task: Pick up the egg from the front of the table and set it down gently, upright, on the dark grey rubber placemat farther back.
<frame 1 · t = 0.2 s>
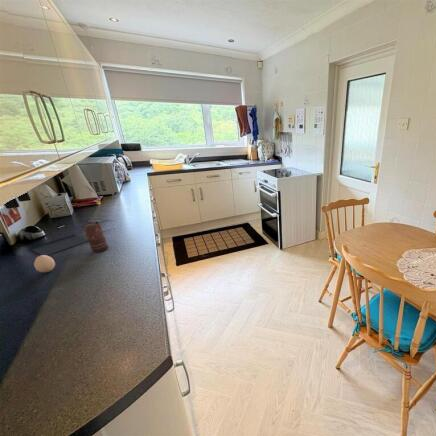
hand: (19, 204, 86), 30 cm above the countertop, tool pointing down, fingers open, 9 cm apart
can: (100, 250, 113), on the countertop
egg: (48, 271, 96), on the countertop
placemat: (60, 245, 118), on the countertop
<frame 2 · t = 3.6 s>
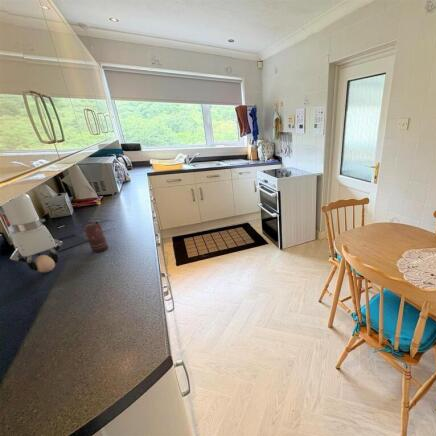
hand: (45, 265, 95), 3 cm above the countertop, tool pointing down, fingers closed on egg, 5 cm apart
egg: (48, 271, 96), on the countertop, touching gripper
everything else where it was.
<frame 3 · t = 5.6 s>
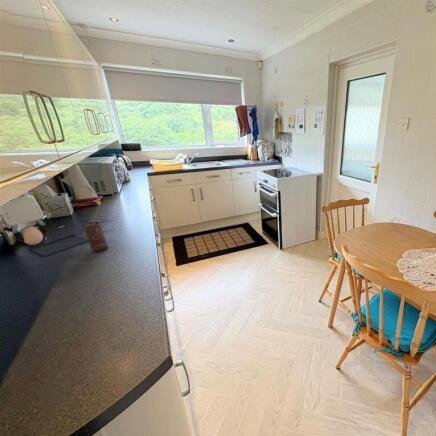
hand: (32, 237, 91), 15 cm above the countertop, tool pointing down, fingers closed on egg, 5 cm apart
egg: (35, 244, 92), point 12 cm above the countertop, touching gripper
everything else where it was.
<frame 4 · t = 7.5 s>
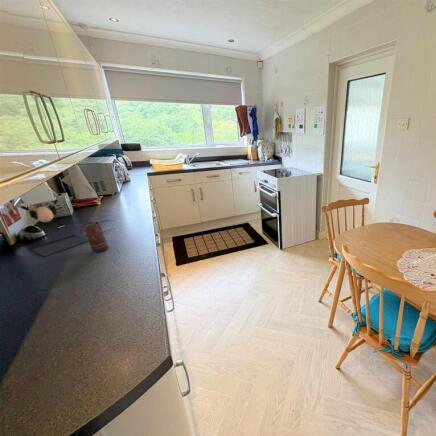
hand: (44, 216, 108), 17 cm above the countertop, tool pointing down, fingers closed on egg, 5 cm apart
egg: (47, 222, 109), point 14 cm above the countertop, touching gripper
everything else where it was.
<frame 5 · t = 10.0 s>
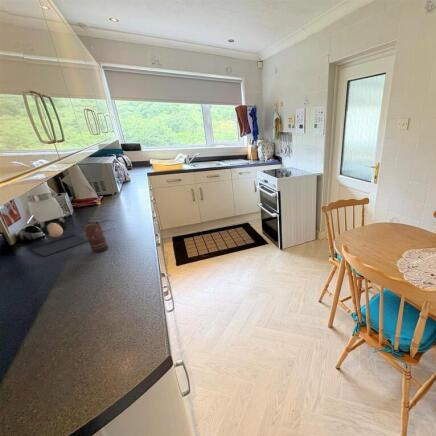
hand: (55, 231, 115), 8 cm above the countertop, tool pointing down, fingers closed on egg, 5 cm apart
egg: (57, 237, 116), point 4 cm above the countertop, touching gripper
everything else where it was.
when the fingers open (3 cm above the countertop, at t = 11.5 s): egg stays where it is, resting on placemat.
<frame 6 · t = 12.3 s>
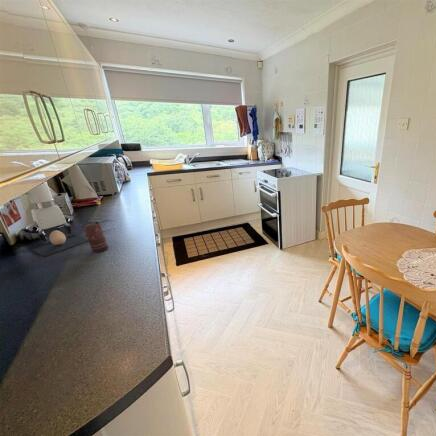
hand: (57, 236, 116), 5 cm above the countertop, tool pointing down, fingers open, 9 cm apart
egg: (60, 244, 118), resting on placemat
everything else where it was.
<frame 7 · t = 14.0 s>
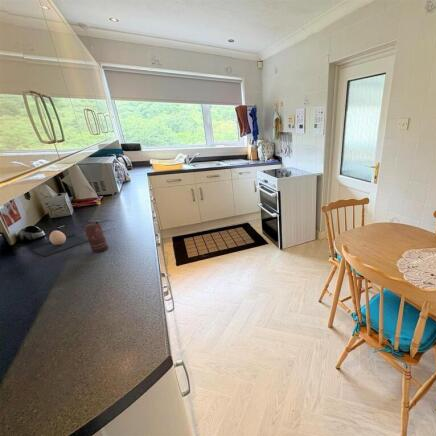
hand: (13, 202, 104), 25 cm above the countertop, tool pointing down, fingers open, 9 cm apart
nothing on the countertop moved.
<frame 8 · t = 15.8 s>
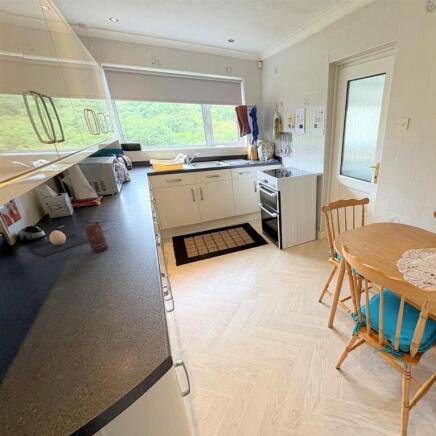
nothing on the countertop moved.
at the end: egg inside the target area on the placemat (0.0 cm from its centre), point 0.2 cm above the placemat's base; egg tilted 0°; the gripper is holding nothing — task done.
